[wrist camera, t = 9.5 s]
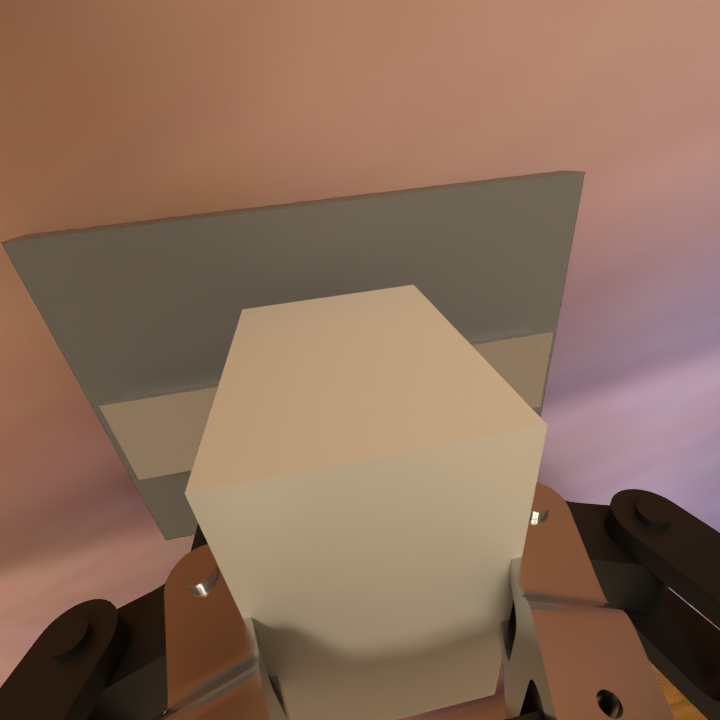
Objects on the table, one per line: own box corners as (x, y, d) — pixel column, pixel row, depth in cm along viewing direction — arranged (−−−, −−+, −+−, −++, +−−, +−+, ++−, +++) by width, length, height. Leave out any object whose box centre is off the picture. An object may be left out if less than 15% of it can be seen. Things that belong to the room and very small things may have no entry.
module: (242, 309, 10) (184, 493, 4) (413, 284, 10) (547, 425, 5) (298, 519, 14) (302, 746, 8) (418, 495, 14) (494, 697, 9)
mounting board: (25, 235, 10) (1, 242, 9) (563, 170, 12) (584, 171, 11) (172, 519, 16) (165, 540, 15) (519, 452, 18) (531, 467, 17)
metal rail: (115, 384, 12) (98, 406, 11) (532, 318, 13) (553, 332, 12) (150, 454, 13) (138, 479, 12) (522, 388, 15) (540, 406, 14)
